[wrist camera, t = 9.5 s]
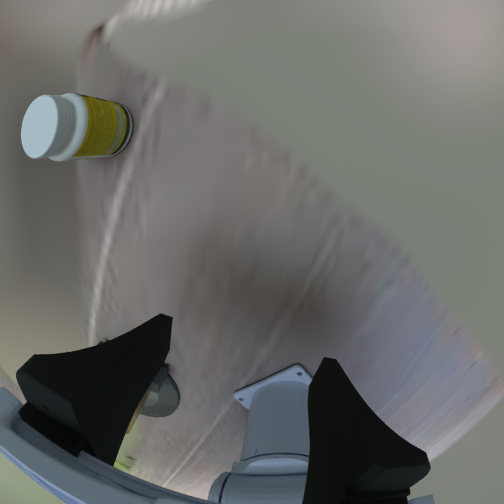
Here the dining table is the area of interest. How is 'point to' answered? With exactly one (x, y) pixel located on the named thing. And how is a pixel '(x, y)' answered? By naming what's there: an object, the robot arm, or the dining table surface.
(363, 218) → the dining table surface
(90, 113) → the supplement bottle
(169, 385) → the flange seat
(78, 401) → the robot arm
